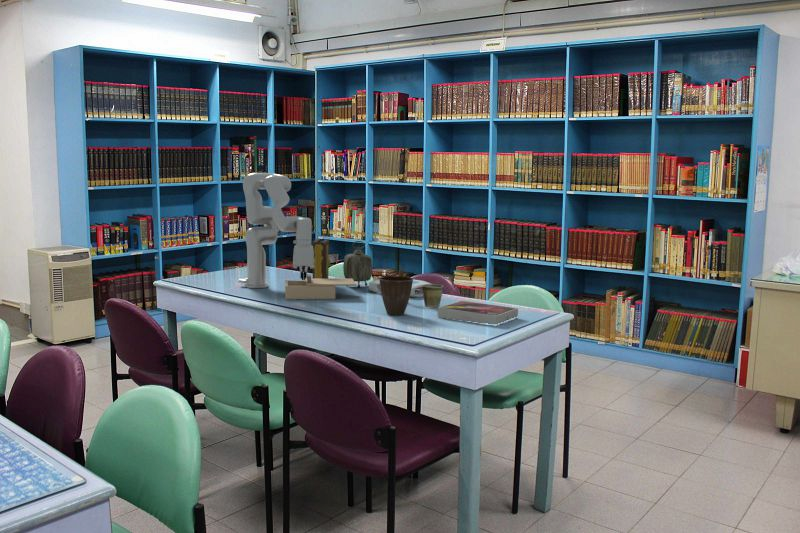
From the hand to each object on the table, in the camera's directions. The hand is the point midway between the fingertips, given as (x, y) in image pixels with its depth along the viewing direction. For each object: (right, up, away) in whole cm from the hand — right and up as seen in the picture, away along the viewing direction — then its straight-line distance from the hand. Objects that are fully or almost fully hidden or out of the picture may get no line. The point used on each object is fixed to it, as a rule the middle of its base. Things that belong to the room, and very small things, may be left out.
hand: (303, 279), depth 351 cm
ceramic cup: (+63, -12, -15) cm, 66 cm away
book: (+5, -4, +32) cm, 33 cm away
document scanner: (+49, -8, +19) cm, 53 cm away
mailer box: (+3, -8, +2) cm, 9 cm away
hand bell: (+48, -11, -6) cm, 49 cm away
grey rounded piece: (+25, -5, +34) cm, 42 cm away
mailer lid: (+13, -2, +2) cm, 13 cm away
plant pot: (+46, -15, -36) cm, 60 cm away
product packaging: (+82, -17, -40) cm, 93 cm away
